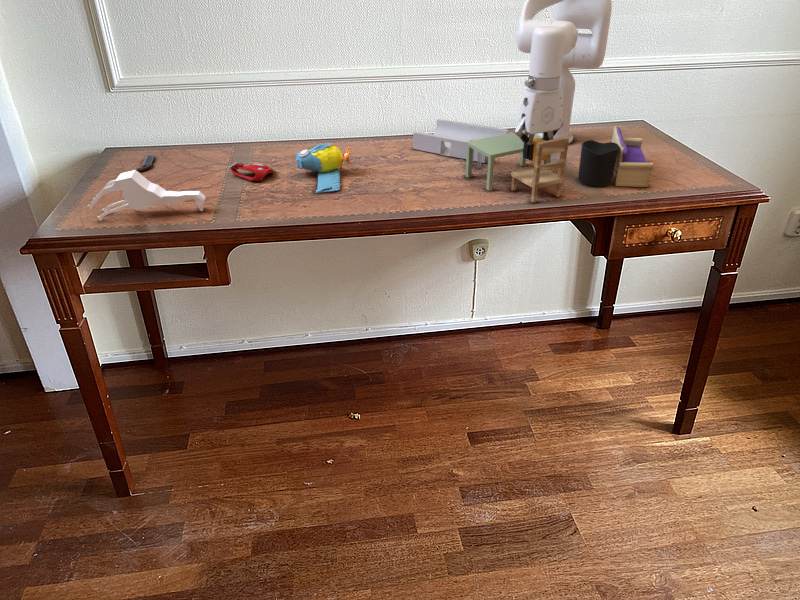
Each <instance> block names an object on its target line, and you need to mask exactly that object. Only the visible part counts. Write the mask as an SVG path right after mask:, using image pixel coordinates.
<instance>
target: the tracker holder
mask: <svg viewBox="0 0 800 600" xmlns="http://www.w3.org/2000/svg"><path fill="white" fill-rule="evenodd" d="M228 169H230V171H231V173H232V174H234V175H235V176H237V177H239V178H242V179H245V180H248V181H251V182H252V181H253V182H261V181H262V180H263V179H264V178H265V177H266V176H267V175H268V174H273V173H274V168H271V167H269V166H268V165H266V164H262V163H250V164H248V165H245V163H244V162H238V161H236V162H234V163H232V164H231V165H230V166H228ZM238 170H241V171H242V170H243V171H247V172H251V173H254V174H255V175H254V176H253V177H252V176H249V175H246V174H243V173H241V172H240V171H238Z"/></svg>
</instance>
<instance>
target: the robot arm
mask: <svg viewBox="0 0 800 600" xmlns="http://www.w3.org/2000/svg"><path fill="white" fill-rule="evenodd" d="M522 5H523V6H522V8H521V11H520V15H519V20H518V24H517V27H516V35H515V44H516V47H517V49H518V51H520V52H522V53H525V54H530V55H529V66H528V77H527V80H525V81H524V86H525V87H526V88H525V90H524V93H523V97H522V100H521V105H520V111H519V119H518V124H517V126H515V129H514V131H513V133H514V134H515V135H517V136H518V137H519V138H520V139H521V140H522V142H524V146H523V157H524V158H526V160H527V161H530V160H532V157H533V148H534V145H533V144H532V142H533V139H534V135H535V134H536V135H538V136H541V137H543V138H541V139H543V140H545V141H548V140H553V139H558V138H563V137H568V138H569V143H568V145H569V144H570V143H572V142H573V140H574V135H573V134H572V133H570V127H571V119H572V113H573V104H574V97H575V92H576V91H575V90H576V80H575V77H574V75H573V74H572V72H571V71H570V69H583V70H596V69H599V68H600V67H601V66H602V65H603V63H604V60H605V56H606V51H607V44H608V39H609V38H608V37H609V32H610V25H611V17H612V11H613V10H612V7H613V2H612V0H525V2H524V3H523V4H522ZM552 6H553V8H552V9H553V11H552V19H534V17H535V16H536V15H537V14H539V12H542V11H543V10H545V9H546V8H549V7H552ZM578 30H590V32H591V33H582V32H581V33H580V32H578ZM522 131H524V133H523V132H522ZM528 135H529V138H528ZM548 156H549V155H548Z"/></svg>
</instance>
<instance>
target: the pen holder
mask: <svg viewBox="0 0 800 600" xmlns="http://www.w3.org/2000/svg"><path fill="white" fill-rule="evenodd" d="M618 150H619V145H618V144H616V143H613V142H611V141H610V142H609V141H608V142H598V141H596V140H593V139H588V140H584V141H582V142H581V149H580V157H579V167H578V178H577V179H578V181H579V182H580V183H581V184H582V185H585V186H586V187H594V188H601V187H602V188H603V187H606V186H608V185H610V184H612V180H613V176H614V172H615V164H616V159H617V155H618Z"/></svg>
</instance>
